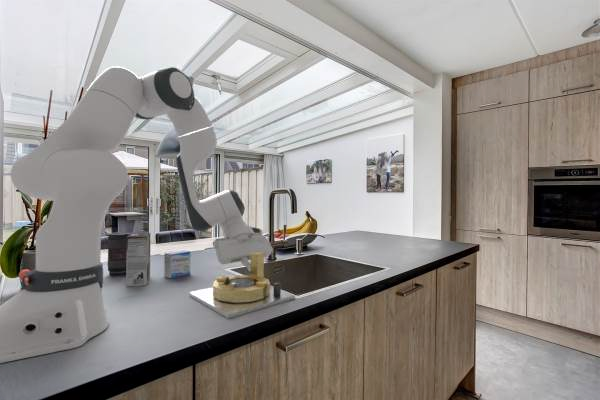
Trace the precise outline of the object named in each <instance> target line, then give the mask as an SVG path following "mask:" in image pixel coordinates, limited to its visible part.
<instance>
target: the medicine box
mask: <svg viewBox="0 0 600 400" xmlns="http://www.w3.org/2000/svg"><path fill="white" fill-rule="evenodd" d="M163 255H164V258H163V259H164V262H163V263H164V264H163V265H164V273H163V274H164V275H163V276H164V277H165V278H168V279H171V280H172V279H176V278H181V277H185V276H188V275H191V251H189V250H179V251H171V252H165V253H164V254H163Z"/></svg>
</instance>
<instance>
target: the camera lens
mask: <svg viewBox="0 0 600 400" xmlns="http://www.w3.org/2000/svg"><path fill="white" fill-rule="evenodd" d="M131 233H132V232H116V233H109V234H108V235H107V271H108V272H109V274H108V275H109V276H110V277H113V278H114V277H126V259H127V236H128V235H129V234H131Z"/></svg>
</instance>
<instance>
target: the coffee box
mask: <svg viewBox="0 0 600 400" xmlns="http://www.w3.org/2000/svg"><path fill="white" fill-rule="evenodd" d="M130 233H131V234H129V235H128V236H127V259H126V275H125V277H126V278H125V281H126V283H125V284H126V285H125V286H126V288H128V287H138V286H139V287H141V286H148V284H149V282H150V279H151V232H130Z"/></svg>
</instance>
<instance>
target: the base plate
mask: <svg viewBox="0 0 600 400" xmlns="http://www.w3.org/2000/svg"><path fill="white" fill-rule="evenodd" d="M230 284H233V285H236V288H246V287H251V286H254V281H253V280H251V279H235V280H232V281H230ZM281 284H282V283H281V282H274V283H273V286H271V285H270V294H269V295H267V296H266V297H265V298H263V299H259V300H255V301H251V302H236V303H233V302H226V301H220V300H218V299H216V298H215V297H213V286H212V287H208V288H203V289H198V290H194V291H189V293H188V295H189V297H191V298H192V299H194V300H196V301H197V302H199V303H200V304H202V305H204V306H206V308H207V307H208V308H209V309H210V310H213V311H214V312H216V313H217V314H219V315H221V316H222V317H224V318H226V319H230V318H231V319H232V318H234V317H238V316H241V315H244V314H247V313H250V312H251V313H252V312H254V311H258V310H261V309H265V308H267V307H272V306H274V305H278V304H281V303H285V302H288V301H290V299H291V300H294V298H295V299H296V294H293V293H290V292H287V291H286V290H282V288H281V287H282V285H281ZM287 300H288V301H287ZM284 301H285V302H284Z"/></svg>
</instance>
